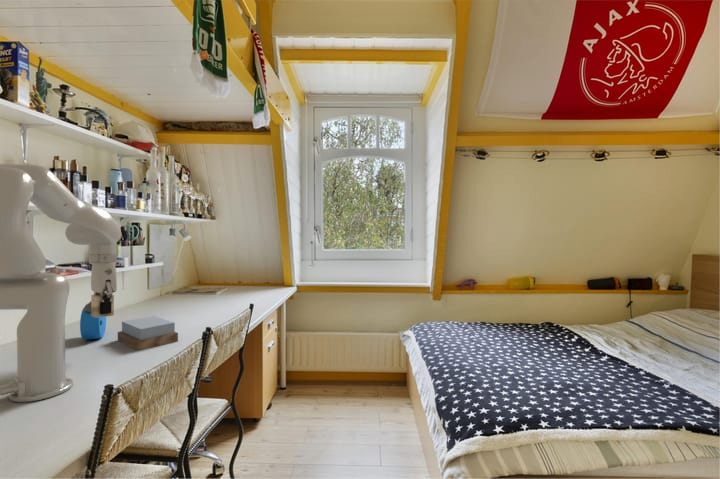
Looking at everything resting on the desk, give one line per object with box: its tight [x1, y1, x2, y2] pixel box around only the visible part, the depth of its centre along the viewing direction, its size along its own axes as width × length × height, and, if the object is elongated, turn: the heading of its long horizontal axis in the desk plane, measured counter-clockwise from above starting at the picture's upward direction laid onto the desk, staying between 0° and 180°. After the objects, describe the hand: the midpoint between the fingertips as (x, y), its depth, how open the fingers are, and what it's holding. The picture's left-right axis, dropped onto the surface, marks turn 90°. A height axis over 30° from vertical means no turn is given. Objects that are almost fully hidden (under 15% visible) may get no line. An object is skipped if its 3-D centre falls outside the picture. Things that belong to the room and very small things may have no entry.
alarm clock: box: [79, 301, 107, 342], centre depth 140 cm, size 13×6×15 cm, turn 25°
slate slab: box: [121, 315, 176, 340], centre depth 138 cm, size 12×17×4 cm
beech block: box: [90, 294, 115, 318], centre depth 121 cm, size 5×5×7 cm
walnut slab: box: [117, 330, 179, 351], centre depth 138 cm, size 14×19×4 cm
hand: (102, 312), depth 121 cm, fingers closed on beech block, 5 cm apart
